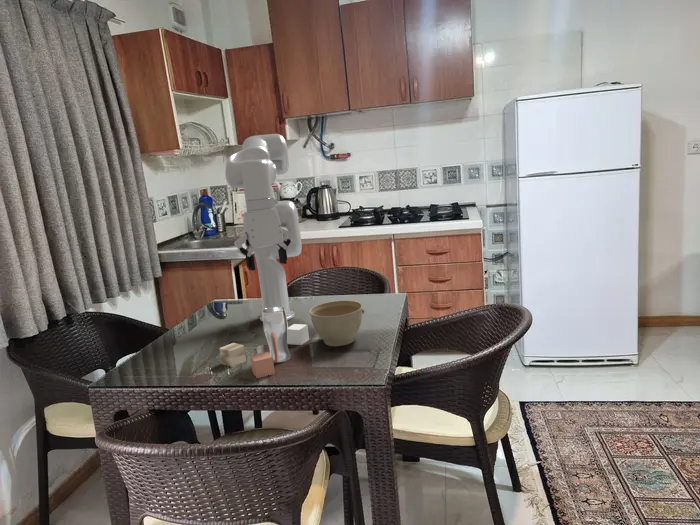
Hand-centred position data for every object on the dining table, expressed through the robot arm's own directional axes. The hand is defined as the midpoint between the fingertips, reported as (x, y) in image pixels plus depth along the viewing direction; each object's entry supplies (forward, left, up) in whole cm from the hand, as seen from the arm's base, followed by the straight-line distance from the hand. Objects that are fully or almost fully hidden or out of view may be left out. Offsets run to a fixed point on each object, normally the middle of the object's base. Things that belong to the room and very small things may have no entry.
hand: (267, 266), depth 147 cm
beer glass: (0, 0, -28) cm, 28 cm away
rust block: (+6, -8, -28) cm, 29 cm away
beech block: (-8, -11, -28) cm, 31 cm away
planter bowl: (+1, +20, -28) cm, 34 cm away
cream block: (-9, +11, -28) cm, 31 cm away
